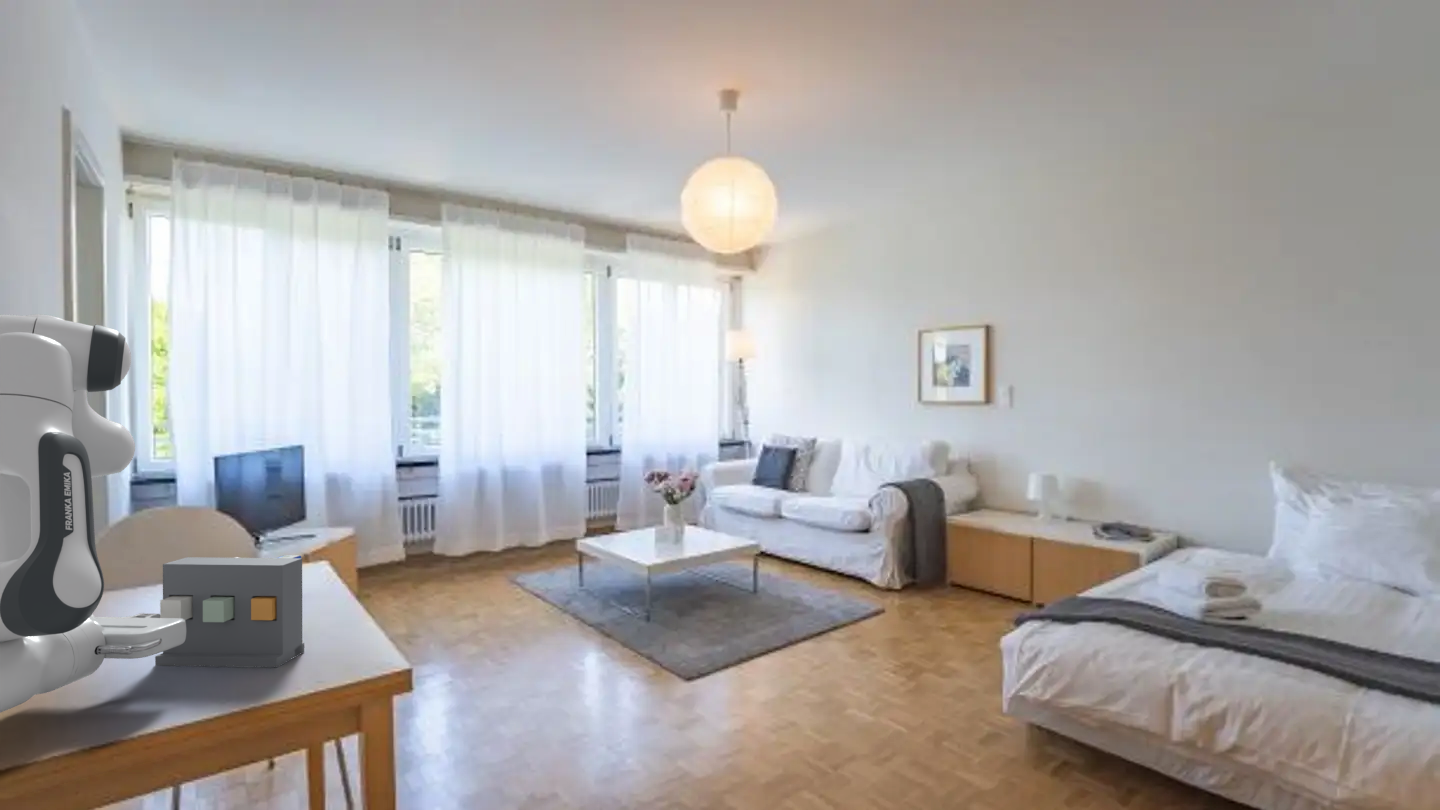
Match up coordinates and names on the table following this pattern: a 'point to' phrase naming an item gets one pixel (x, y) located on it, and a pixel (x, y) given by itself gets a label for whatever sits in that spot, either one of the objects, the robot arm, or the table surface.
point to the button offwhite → (177, 607)
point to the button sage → (219, 609)
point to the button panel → (236, 611)
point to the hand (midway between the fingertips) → (151, 618)
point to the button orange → (264, 608)
